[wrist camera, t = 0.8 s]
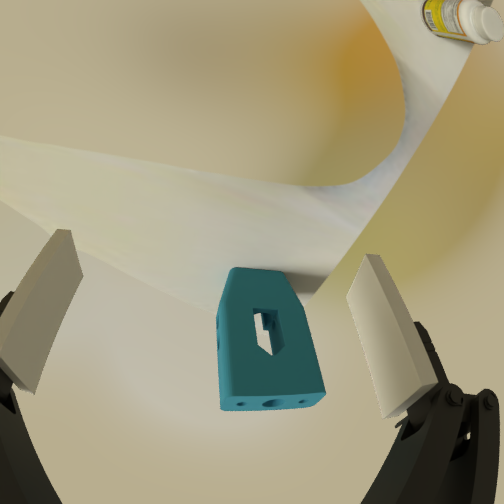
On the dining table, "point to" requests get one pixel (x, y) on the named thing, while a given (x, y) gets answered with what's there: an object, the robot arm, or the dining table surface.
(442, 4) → the supplement bottle
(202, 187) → the dining table surface
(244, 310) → the block
